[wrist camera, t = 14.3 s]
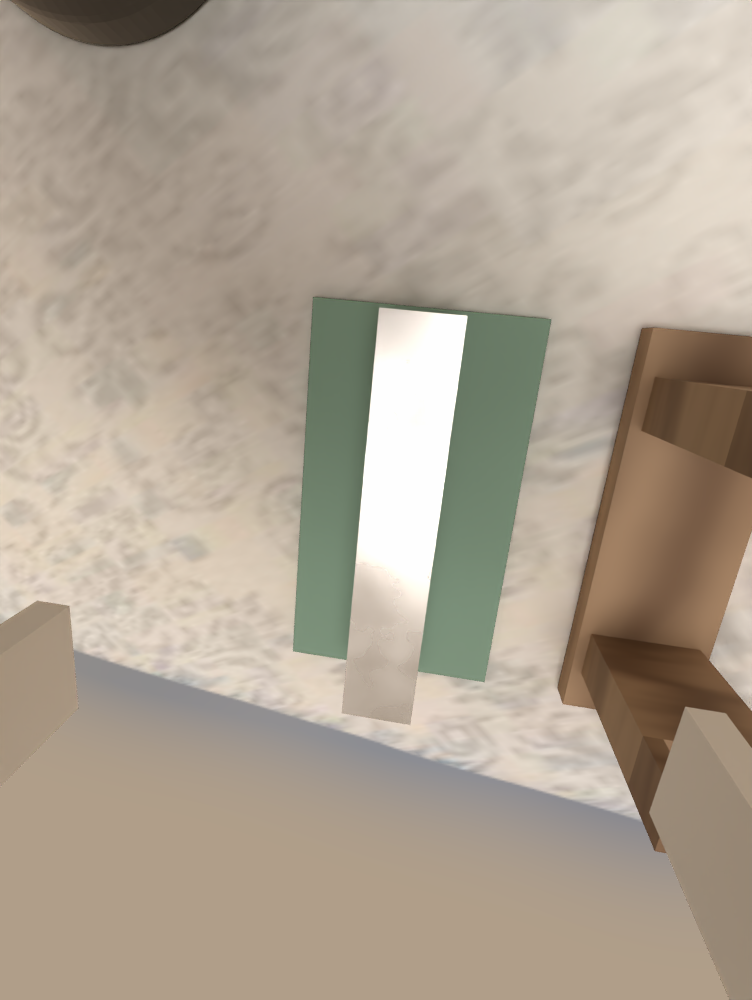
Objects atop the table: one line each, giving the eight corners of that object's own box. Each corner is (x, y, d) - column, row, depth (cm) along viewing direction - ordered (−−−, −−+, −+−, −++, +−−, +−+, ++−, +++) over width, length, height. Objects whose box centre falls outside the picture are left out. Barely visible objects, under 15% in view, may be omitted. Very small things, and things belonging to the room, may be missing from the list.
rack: (557, 687, 32) (624, 891, 20) (642, 328, 26) (810, 313, 14) (676, 707, 31) (818, 929, 19) (792, 342, 25) (1106, 339, 13)
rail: (358, 654, 32) (341, 712, 27) (392, 315, 26) (379, 307, 21) (415, 664, 32) (410, 724, 27) (463, 322, 26) (467, 315, 21)
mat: (295, 645, 33) (293, 651, 33) (315, 297, 27) (313, 296, 27) (483, 676, 32) (484, 681, 32) (549, 319, 26) (551, 319, 26)
